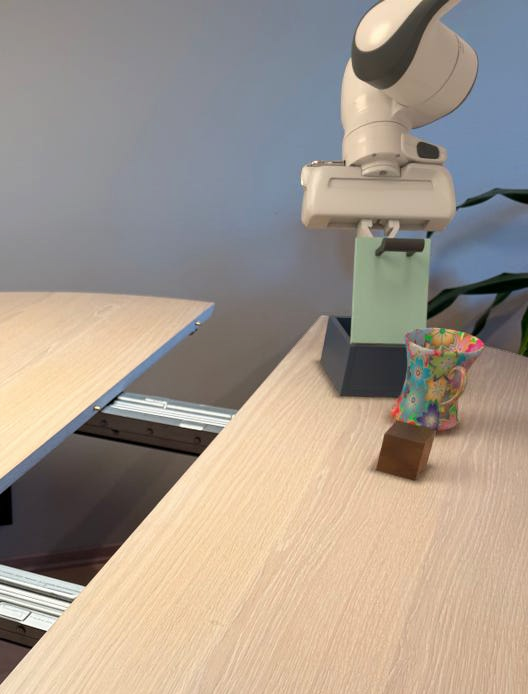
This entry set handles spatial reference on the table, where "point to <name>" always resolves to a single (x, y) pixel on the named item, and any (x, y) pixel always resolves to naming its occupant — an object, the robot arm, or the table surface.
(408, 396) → the mug
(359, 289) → the lid
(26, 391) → the table surface
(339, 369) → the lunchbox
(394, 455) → the block
